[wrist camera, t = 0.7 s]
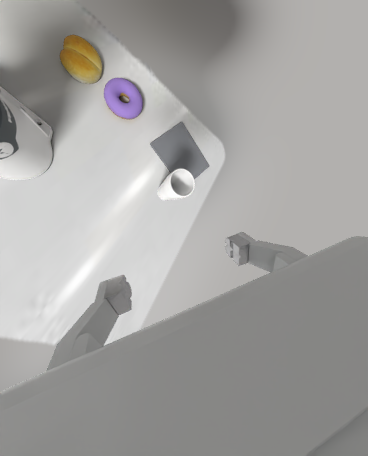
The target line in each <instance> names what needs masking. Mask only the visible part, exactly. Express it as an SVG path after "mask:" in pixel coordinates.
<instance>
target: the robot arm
mask: <svg viewBox="0 0 368 456" xmlns="http://www.w3.org/2000/svg"><path fill="white" fill-rule="evenodd" d="M39 123H41V124H42V125H38V124H39ZM52 134H53V130H52V128H51V127H50V126H49V125H48V124H47V123H46V122H45V121H43V120H42V119H41V118H40V117H38V116H37V115H36V114H35V113H33V112H32V111H31V110H30V109H28V108H27V107H26V106H25V105H23V104H22V103H21V102H20V101H18V100H17V99H16V98H15V97H13V96H12V95H11V94H10V93H8V92H7V91H6V90H5V89H3V88H2V87H1V86H0V178H4V179H9V180H27V179H32V178H35V177H37V176H39V175H41V174H43V173H44V172H45V171H46V170H47V169H48V168H49V166H50V164H51V162H52V157H53V152H52V147H51V138H52ZM225 243H226V244H227V245H226V247H225V249H226V252H227V254H228V256H229V257H231V258H233V261H234V262H235V263H236V264H237V265H238V266H240V265H243V264H246V263H249V264H252V265H254V266H257V267H259V268H262V269H264V270H266V271H269V272H271V273H269V274H267V275H264V276H262V277H260V278H258V279H255V280H253V281H251V282H248V283H246V284H244V285H242V286H239V287H237V288H235V289H232V290H230V291H228V292H226V293H224V294H221V295H219V296H217V297H214V298H212V299H210V300H208V301H205V302H203V303H201V304H198V305H196V306H194V307H192V308H189V309H187V310H185V311H182V312H180V313H178V314H176V315H174V316H171V317H169V318H167V319H165V320H162V321H160V322H158V323H156V324H153V325H151V326H148V327H146V328H144V329H141V330H139V331H137V332H135V333H132V334H130V335H128V336H126V337H123V338H121V339H119V340H116V341H114V342H112V343H110V344H107V345H105V346H103V345H104V343H105V341H106V340H107V338H108V336H109V334H110V332H111V330H112V328H113V326H114V324H115V322H116V320H117V318H118V317H119V316H118V315H121V314H123V313H125V312H128V311H130V310H131V303H132V301H131V299H130V297H131V296H132V292H131V287H130V284H129V283H128V282H126V277H125V276H124V275H121V276H118V277H115V278H112V279H109V280H106V281H103V282H101V283H100V284H99V288H98V291H97V295H96V299H95V302H94V303H93V304H91V305H90V307H89V308H88V309H87V310H86V311H85V312H84V314H83V315H82V316H81V317H80V318H79V320H78V321H77V322H76V323H75V324H74V325H73V327H72V328H71V329H70V330H69V331H68V332H67V334H66V335H65V336H64V337H63V338H62V339H61V341H60V342H59V343H58V344H57V346H56V349H55V351H54V354H53V356H52V359H51V361H50V364H49V366H48V368H47V371H46V372H44V373H42V374H40V375H37V376H35V377H33V378H31V379H28V380H26V381H23V382H21V383H19V384H17V385H15V386H12V387H10V388H7V389H5V390H3V391H1V392H0V456H368V237H359V236H356V237H351V238H348V239H346V240H344V241H342V242H339V243H337V244H335V245H332V246H330V247H328V248H326V249H324V250H321V251H319V252H317V253H314V254H312V255H310V256H307V255H305V254H303V253H302V252H300V251H298V250H297V249H295V248H293V247H289V246H283V245H278V244H273V243H268V242H263V241H256V240H254V239H253V238H251V237H250V236H248V235H247V234H245V233H244V232H240V233H238V234H236V235H233V236H230V237H227V238H226V239H225Z"/></svg>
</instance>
